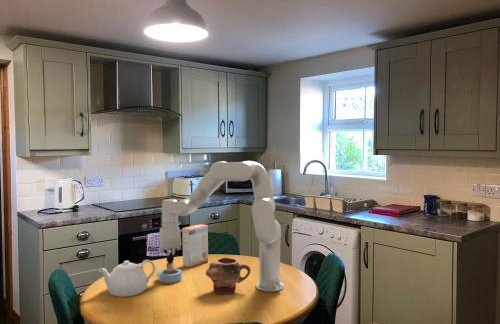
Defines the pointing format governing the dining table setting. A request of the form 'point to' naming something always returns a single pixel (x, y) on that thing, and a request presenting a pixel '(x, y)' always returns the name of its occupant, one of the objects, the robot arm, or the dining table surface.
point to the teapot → (127, 279)
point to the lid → (170, 268)
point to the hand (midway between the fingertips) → (170, 262)
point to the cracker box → (195, 245)
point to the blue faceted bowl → (169, 276)
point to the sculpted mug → (226, 274)
